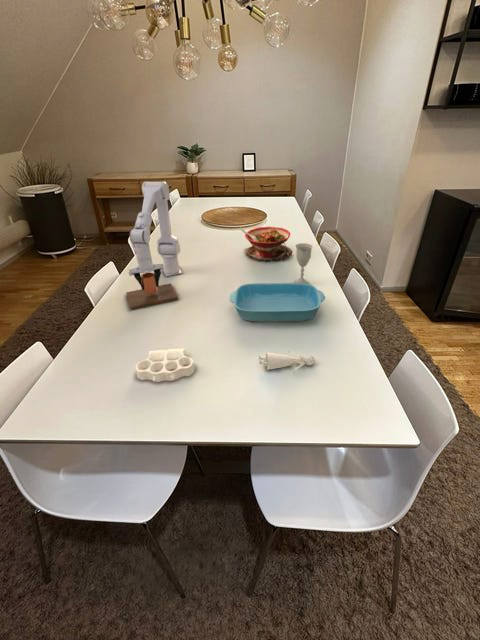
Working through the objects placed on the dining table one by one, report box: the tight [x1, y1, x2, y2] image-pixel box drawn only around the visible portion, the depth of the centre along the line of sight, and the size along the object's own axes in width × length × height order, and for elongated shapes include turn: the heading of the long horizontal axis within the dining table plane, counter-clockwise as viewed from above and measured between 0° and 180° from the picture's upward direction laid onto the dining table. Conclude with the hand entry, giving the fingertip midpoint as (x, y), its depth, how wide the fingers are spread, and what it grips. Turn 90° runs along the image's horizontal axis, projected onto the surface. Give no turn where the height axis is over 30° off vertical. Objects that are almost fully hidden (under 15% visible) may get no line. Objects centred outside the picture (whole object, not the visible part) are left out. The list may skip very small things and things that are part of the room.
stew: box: [238, 225, 293, 263], centre depth 182 cm, size 28×24×16 cm
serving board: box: [125, 282, 179, 311], centre depth 151 cm, size 14×20×2 cm
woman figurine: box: [258, 349, 316, 374], centre depth 109 cm, size 12×4×18 cm
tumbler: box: [140, 271, 157, 294], centre depth 147 cm, size 6×6×8 cm
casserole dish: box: [229, 282, 326, 323], centre depth 136 cm, size 37×22×7 cm, turn 86°
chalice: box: [295, 242, 314, 284], centre depth 152 cm, size 7×7×18 cm
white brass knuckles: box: [134, 347, 195, 383], centre depth 110 cm, size 3×18×15 cm
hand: (150, 287), depth 148 cm, fingers closed on tumbler, 6 cm apart
